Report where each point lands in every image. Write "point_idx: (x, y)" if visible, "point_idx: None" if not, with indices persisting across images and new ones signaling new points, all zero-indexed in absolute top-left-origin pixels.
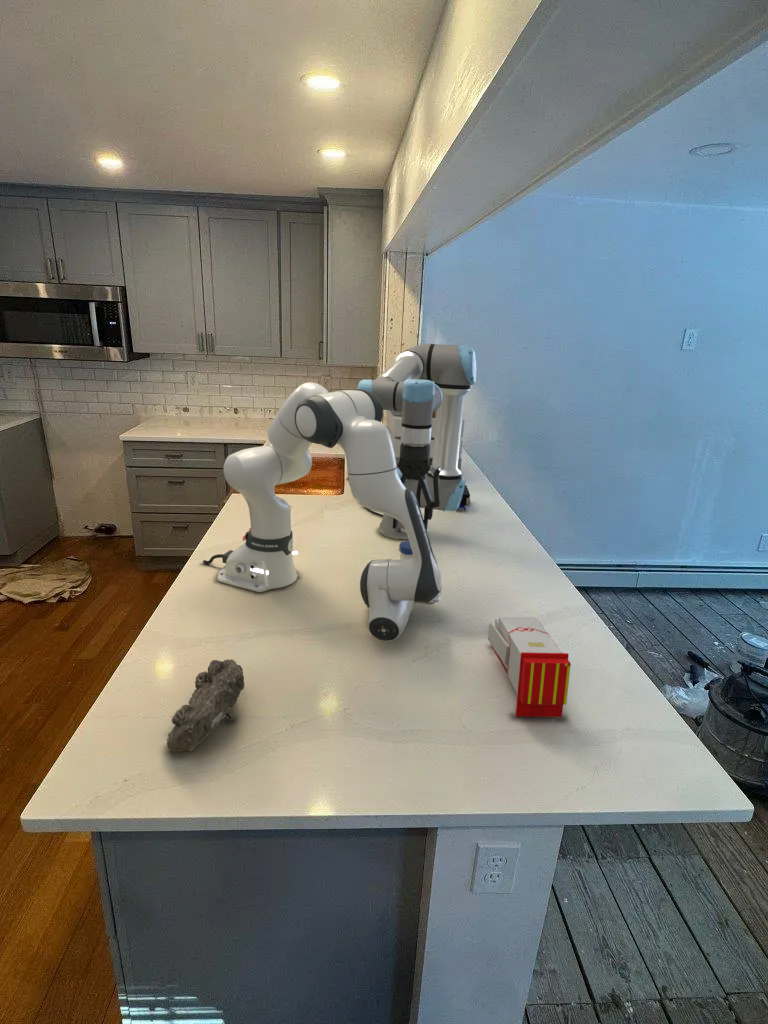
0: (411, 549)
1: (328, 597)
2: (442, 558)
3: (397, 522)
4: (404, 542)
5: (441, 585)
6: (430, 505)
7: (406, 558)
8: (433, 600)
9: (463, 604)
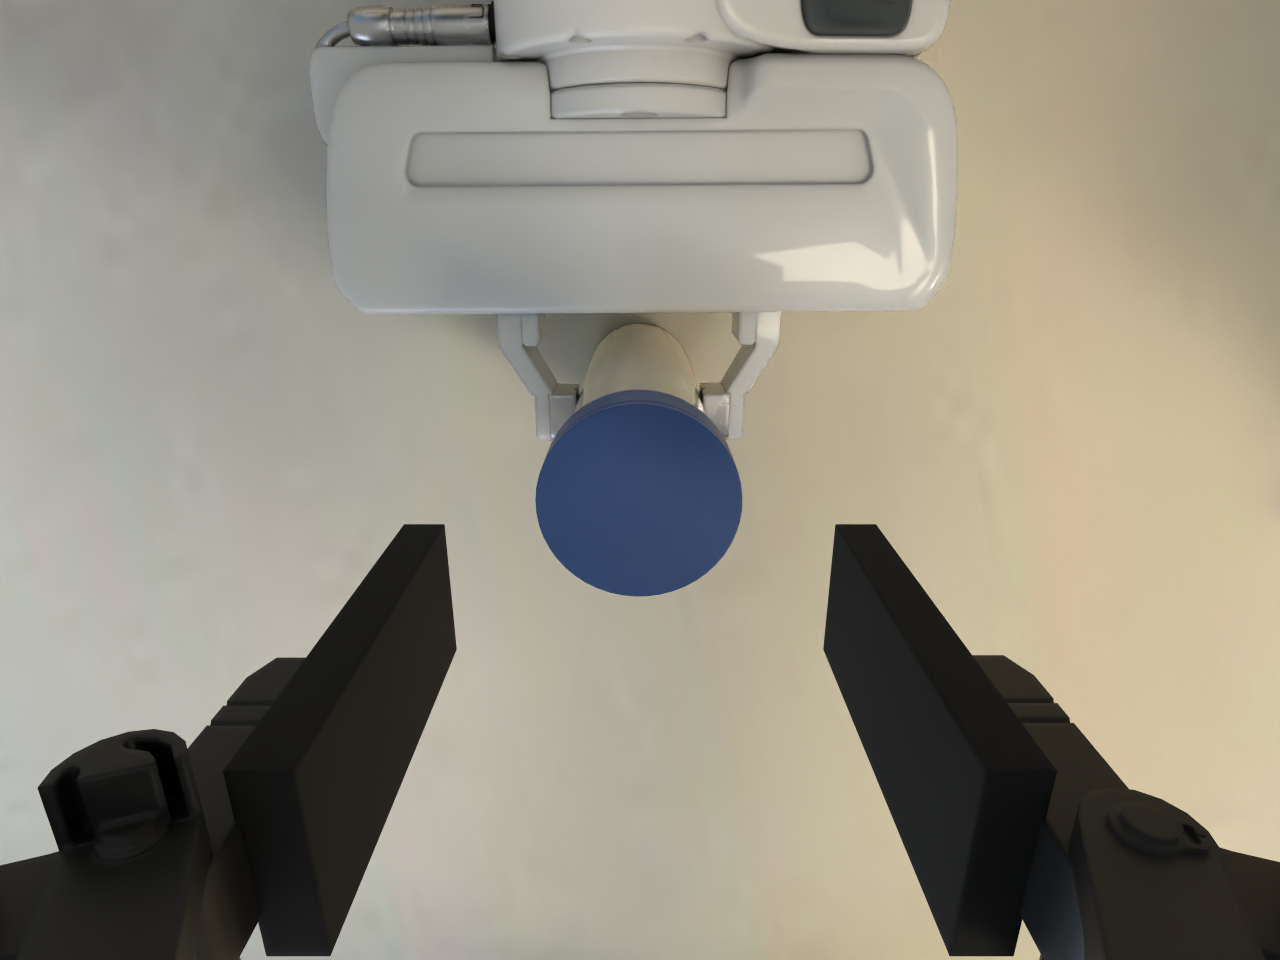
0: (594, 413)
1: (1121, 225)
2: (532, 873)
3: (835, 663)
4: (697, 549)
5: (331, 262)
6: (101, 859)
7: (643, 388)
8: (352, 48)
9: (291, 396)
